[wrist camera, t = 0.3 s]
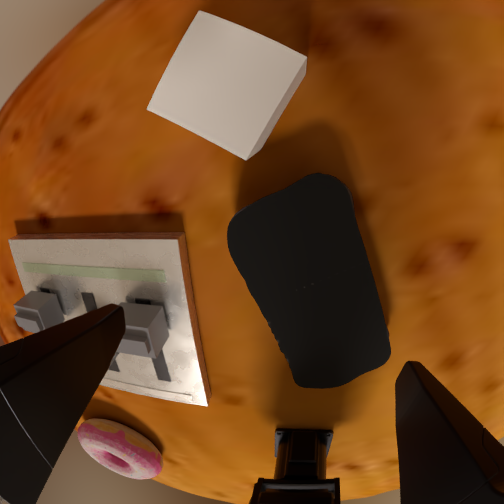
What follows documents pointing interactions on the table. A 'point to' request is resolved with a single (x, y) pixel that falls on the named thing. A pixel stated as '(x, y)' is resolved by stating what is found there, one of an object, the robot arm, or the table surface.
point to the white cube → (228, 84)
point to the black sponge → (312, 280)
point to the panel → (125, 299)
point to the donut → (120, 448)
